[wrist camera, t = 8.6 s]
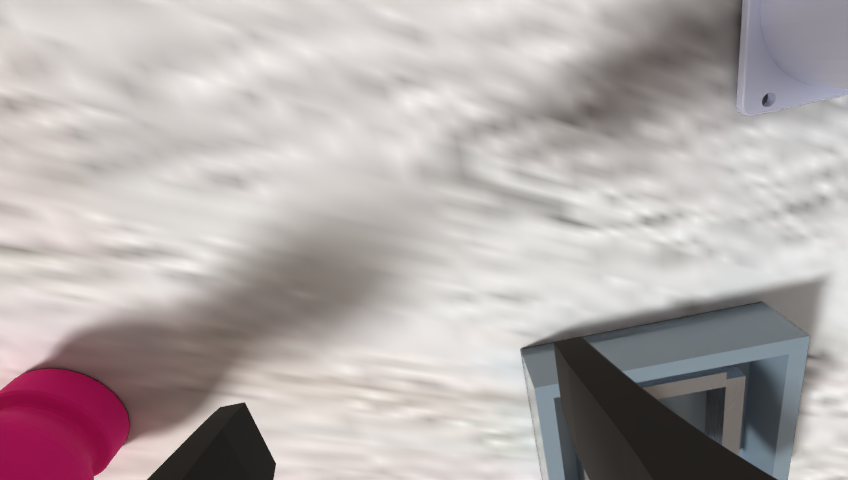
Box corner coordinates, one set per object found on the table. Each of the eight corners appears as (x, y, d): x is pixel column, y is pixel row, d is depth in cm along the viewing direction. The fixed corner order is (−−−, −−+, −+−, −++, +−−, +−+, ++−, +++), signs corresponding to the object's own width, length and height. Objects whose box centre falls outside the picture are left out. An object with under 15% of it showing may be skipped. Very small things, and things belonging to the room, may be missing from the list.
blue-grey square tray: (762, 301, 21) (810, 335, 19) (745, 470, 26) (782, 515, 24) (520, 349, 22) (534, 388, 20) (546, 504, 27) (560, 551, 24)
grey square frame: (726, 349, 22) (746, 368, 21) (719, 461, 25) (736, 483, 24) (566, 380, 22) (576, 400, 21) (579, 485, 26) (588, 508, 24)
